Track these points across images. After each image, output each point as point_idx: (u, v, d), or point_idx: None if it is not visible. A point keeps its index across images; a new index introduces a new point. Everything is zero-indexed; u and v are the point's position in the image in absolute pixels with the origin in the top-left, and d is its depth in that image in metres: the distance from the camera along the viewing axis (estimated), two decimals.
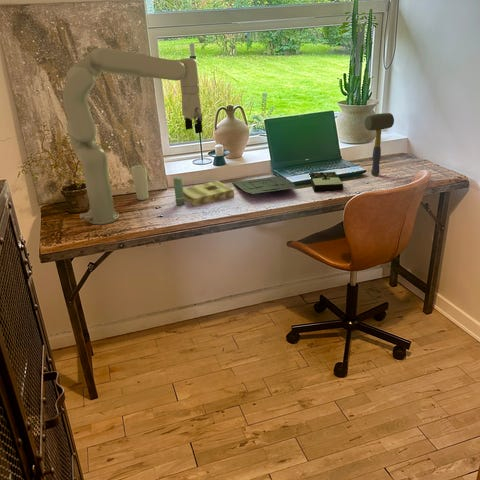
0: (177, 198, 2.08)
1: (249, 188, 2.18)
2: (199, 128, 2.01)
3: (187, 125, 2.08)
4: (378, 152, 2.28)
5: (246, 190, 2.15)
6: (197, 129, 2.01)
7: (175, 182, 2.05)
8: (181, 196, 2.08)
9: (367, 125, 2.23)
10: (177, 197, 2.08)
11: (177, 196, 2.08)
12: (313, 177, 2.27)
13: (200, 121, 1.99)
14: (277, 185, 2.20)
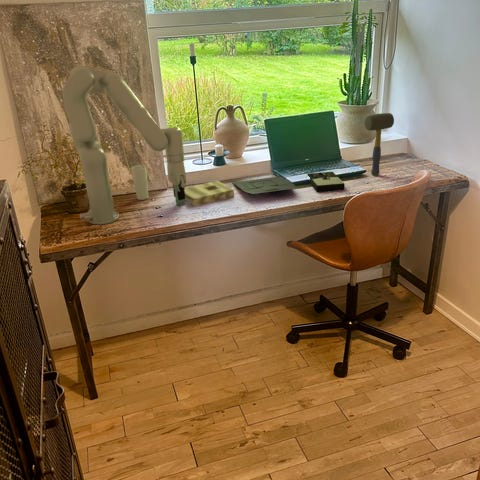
0: (177, 198, 2.08)
1: (249, 188, 2.18)
2: (182, 195, 2.07)
3: None
4: (378, 152, 2.28)
5: (246, 190, 2.15)
6: (180, 196, 2.07)
7: None
8: None
9: (367, 125, 2.23)
10: (177, 197, 2.08)
11: (177, 196, 2.08)
12: (313, 177, 2.26)
13: (183, 189, 2.05)
14: (277, 185, 2.20)
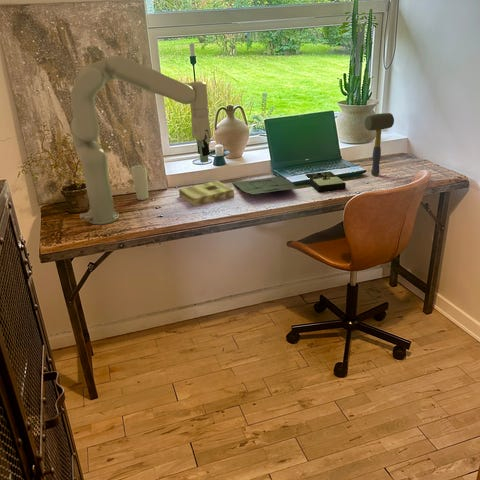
0: (201, 154, 2.08)
1: (249, 188, 2.17)
2: (206, 151, 2.07)
3: None
4: (378, 152, 2.28)
5: (246, 190, 2.14)
6: (204, 152, 2.07)
7: None
8: None
9: (367, 125, 2.23)
10: (201, 153, 2.08)
11: (201, 152, 2.08)
12: (312, 178, 2.26)
13: (207, 144, 2.05)
14: (277, 185, 2.19)
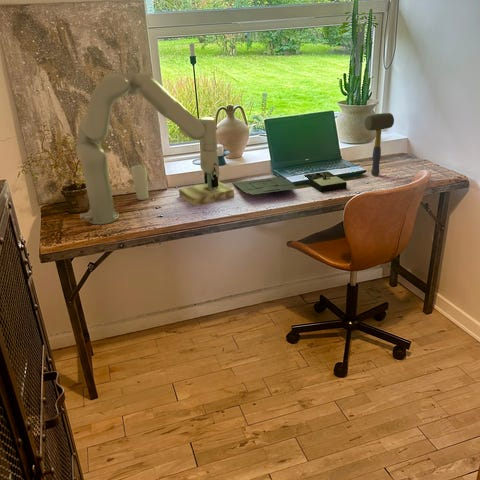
0: (210, 189, 2.17)
1: (249, 189, 2.17)
2: (215, 183, 2.14)
3: (206, 180, 2.19)
4: (378, 152, 2.28)
5: (246, 191, 2.14)
6: (213, 184, 2.14)
7: (208, 173, 2.14)
8: None
9: (367, 125, 2.23)
10: (210, 188, 2.17)
11: (210, 187, 2.17)
12: (312, 178, 2.25)
13: (216, 177, 2.12)
14: (277, 186, 2.19)
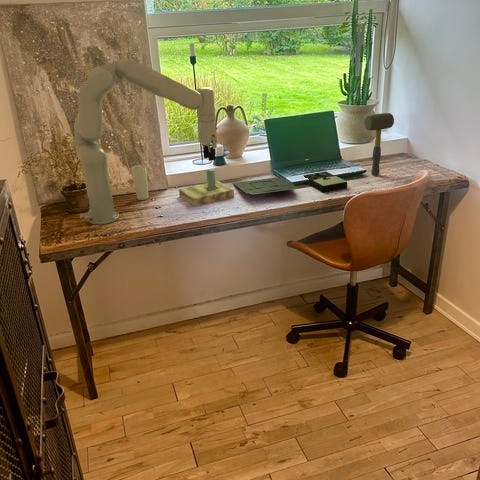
0: (210, 189, 2.17)
1: (249, 189, 2.17)
2: (212, 156, 2.09)
3: (205, 154, 2.13)
4: (378, 152, 2.28)
5: (246, 191, 2.14)
6: (210, 157, 2.09)
7: (208, 173, 2.14)
8: (213, 187, 2.17)
9: (367, 125, 2.23)
10: (210, 188, 2.17)
11: (210, 187, 2.17)
12: (312, 178, 2.25)
13: (213, 149, 2.07)
14: (277, 186, 2.19)
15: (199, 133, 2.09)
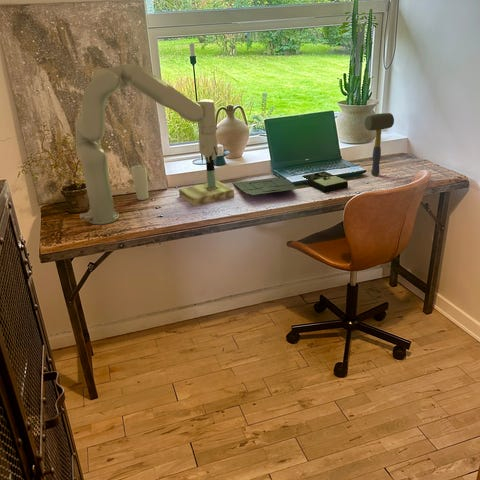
0: (210, 189, 2.17)
1: (249, 189, 2.17)
2: (211, 166, 2.13)
3: None
4: (378, 152, 2.28)
5: (246, 191, 2.14)
6: (209, 167, 2.13)
7: (208, 173, 2.14)
8: (213, 187, 2.17)
9: (367, 125, 2.23)
10: (210, 188, 2.17)
11: (210, 187, 2.17)
12: (312, 179, 2.24)
13: (212, 160, 2.11)
14: (277, 186, 2.18)
15: (200, 144, 2.11)
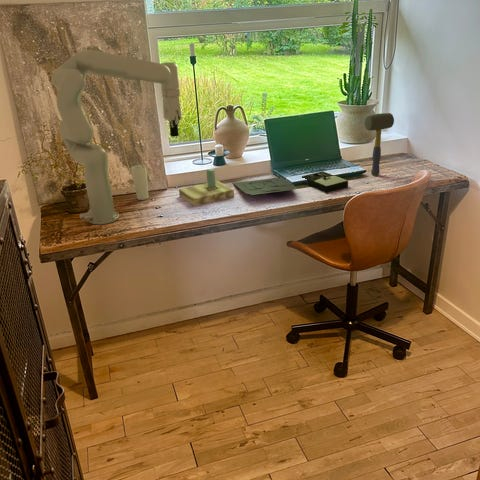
0: (210, 189, 2.17)
1: (249, 189, 2.17)
2: (175, 132, 2.10)
3: None
4: (378, 152, 2.28)
5: (246, 191, 2.14)
6: (173, 132, 2.10)
7: (208, 173, 2.14)
8: (213, 187, 2.17)
9: (367, 125, 2.23)
10: (210, 188, 2.17)
11: (210, 187, 2.17)
12: (312, 179, 2.24)
13: (176, 125, 2.08)
14: (277, 186, 2.18)
15: (164, 109, 2.08)
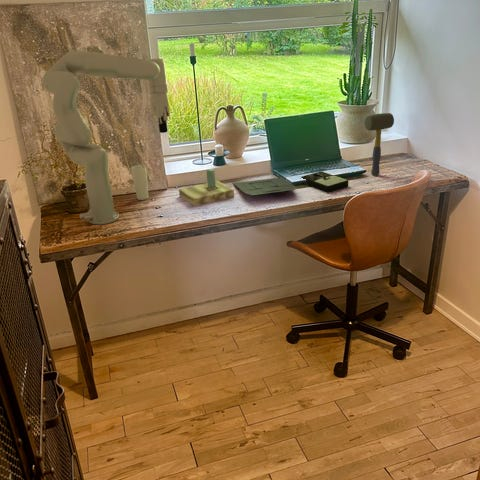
0: (210, 189, 2.17)
1: (249, 189, 2.16)
2: (164, 128, 2.10)
3: None
4: (378, 152, 2.28)
5: (246, 191, 2.13)
6: (162, 129, 2.10)
7: (208, 173, 2.14)
8: (213, 187, 2.17)
9: (367, 125, 2.23)
10: (210, 188, 2.17)
11: (210, 187, 2.17)
12: (312, 179, 2.24)
13: (164, 121, 2.08)
14: (277, 186, 2.18)
15: (152, 105, 2.08)
